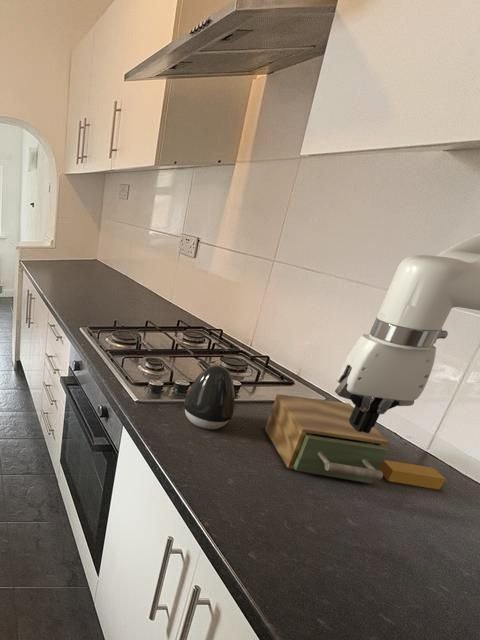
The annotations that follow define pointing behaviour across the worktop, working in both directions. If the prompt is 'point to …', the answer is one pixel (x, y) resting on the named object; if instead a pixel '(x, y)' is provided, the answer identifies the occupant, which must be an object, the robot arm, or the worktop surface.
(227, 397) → the dark grey egg ornament
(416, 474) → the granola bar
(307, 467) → the drawer
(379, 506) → the worktop surface
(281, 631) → the worktop surface
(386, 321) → the robot arm
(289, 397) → the cabinet
